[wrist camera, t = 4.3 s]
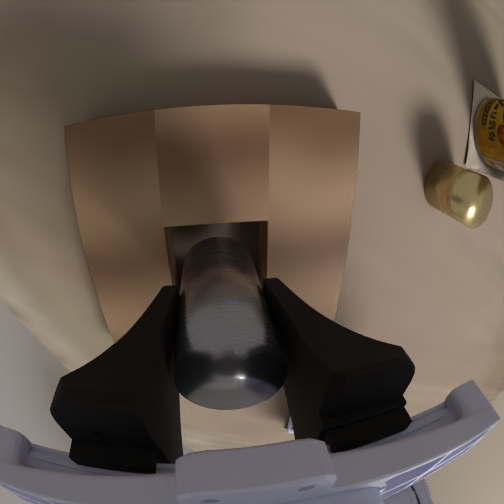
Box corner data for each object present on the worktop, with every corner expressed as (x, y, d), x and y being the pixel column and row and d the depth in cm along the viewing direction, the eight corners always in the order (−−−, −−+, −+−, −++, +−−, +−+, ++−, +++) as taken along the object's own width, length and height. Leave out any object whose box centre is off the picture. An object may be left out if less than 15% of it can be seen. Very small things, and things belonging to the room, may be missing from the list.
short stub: (451, 208, 18) (486, 228, 15) (420, 207, 18) (457, 229, 14) (458, 163, 17) (496, 178, 13) (427, 158, 16) (468, 172, 13)
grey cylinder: (257, 292, 16) (289, 398, 9) (191, 303, 15) (190, 414, 9) (249, 231, 14) (285, 328, 8) (175, 243, 14) (157, 349, 7)
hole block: (315, 335, 21) (325, 358, 19) (132, 350, 20) (127, 375, 17) (338, 111, 14) (360, 112, 12) (84, 123, 12) (64, 126, 10)
